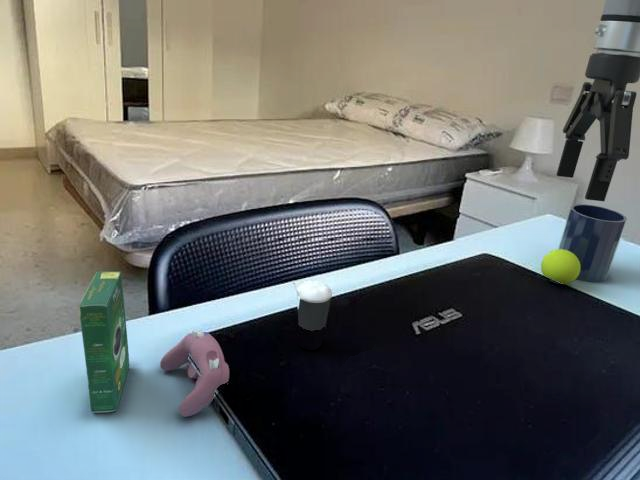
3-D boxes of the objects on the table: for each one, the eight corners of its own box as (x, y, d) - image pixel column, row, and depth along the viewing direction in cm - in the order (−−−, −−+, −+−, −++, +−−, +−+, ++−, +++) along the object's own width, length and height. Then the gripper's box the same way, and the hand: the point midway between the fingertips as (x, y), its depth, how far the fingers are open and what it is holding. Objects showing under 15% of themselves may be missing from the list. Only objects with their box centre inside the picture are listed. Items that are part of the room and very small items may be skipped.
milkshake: (283, 337, 68) (287, 272, 64) (319, 332, 70) (325, 269, 66) (293, 357, 64) (298, 289, 60) (331, 351, 66) (338, 285, 62)
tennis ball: (573, 279, 93) (583, 248, 90) (575, 294, 87) (586, 261, 85) (537, 271, 95) (546, 240, 92) (537, 285, 89) (546, 253, 87)
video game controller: (215, 423, 55) (243, 369, 54) (177, 420, 52) (206, 363, 51) (189, 370, 63) (213, 323, 62) (155, 365, 60) (180, 315, 59)
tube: (603, 267, 100) (623, 210, 95) (609, 286, 91) (630, 226, 87) (553, 256, 103) (569, 200, 98) (554, 274, 95) (571, 214, 90)
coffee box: (105, 366, 60) (95, 268, 55) (131, 365, 60) (123, 268, 55) (89, 414, 53) (75, 306, 48) (118, 412, 53) (107, 306, 48)
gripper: (564, 48, 88) (534, 166, 96) (631, 55, 65) (583, 208, 73) (608, 52, 87) (574, 170, 95) (691, 60, 64) (636, 214, 73)
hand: (578, 187), depth 84 cm, fingers open, 13 cm apart
